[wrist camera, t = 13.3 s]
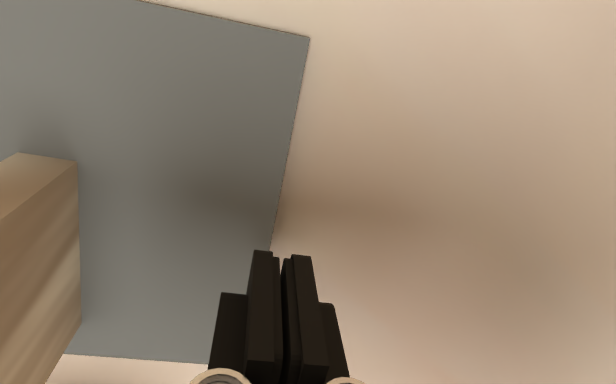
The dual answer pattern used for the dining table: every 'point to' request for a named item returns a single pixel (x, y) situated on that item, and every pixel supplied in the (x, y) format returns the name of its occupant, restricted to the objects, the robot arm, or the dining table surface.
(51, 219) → the tile
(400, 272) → the dining table surface
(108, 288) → the mat
